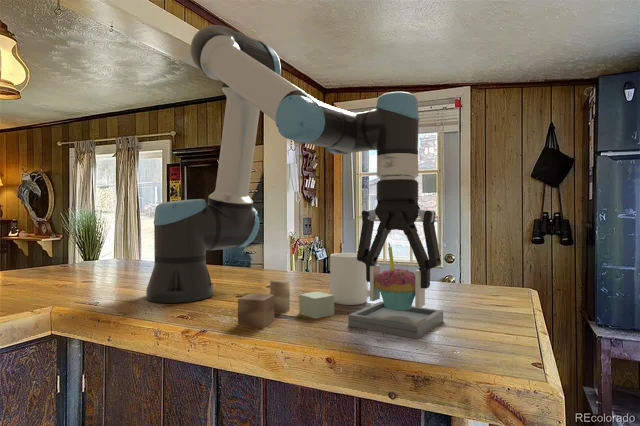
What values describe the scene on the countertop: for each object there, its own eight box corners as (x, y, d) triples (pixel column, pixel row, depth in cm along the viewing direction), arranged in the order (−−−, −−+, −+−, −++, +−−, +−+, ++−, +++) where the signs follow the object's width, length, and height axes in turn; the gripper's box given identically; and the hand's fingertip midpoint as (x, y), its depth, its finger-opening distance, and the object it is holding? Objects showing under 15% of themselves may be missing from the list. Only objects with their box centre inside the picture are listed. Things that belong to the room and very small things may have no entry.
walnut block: (237, 326, 71) (237, 298, 71) (249, 319, 76) (249, 293, 76) (263, 328, 70) (263, 300, 70) (274, 321, 75) (274, 294, 75)
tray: (348, 325, 72) (348, 314, 72) (380, 311, 82) (380, 301, 82) (417, 339, 64) (417, 326, 64) (443, 321, 75) (443, 310, 75)
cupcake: (390, 315, 68) (391, 245, 68) (365, 304, 76) (366, 241, 76) (431, 310, 72) (432, 243, 71) (403, 300, 79) (404, 240, 79)
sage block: (299, 314, 80) (299, 294, 80) (318, 310, 84) (318, 291, 84) (315, 319, 77) (315, 298, 77) (334, 315, 80) (334, 295, 80)
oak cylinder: (266, 310, 83) (266, 281, 82) (278, 307, 86) (278, 279, 86) (280, 313, 80) (281, 283, 80) (293, 309, 84) (293, 281, 83)
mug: (376, 308, 85) (377, 258, 85) (324, 303, 89) (324, 255, 89) (386, 300, 93) (386, 254, 93) (337, 296, 97) (337, 252, 97)
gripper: (338, 180, 76) (337, 299, 76) (448, 175, 64) (447, 315, 64) (357, 182, 82) (357, 292, 82) (461, 178, 70) (460, 306, 70)
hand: (396, 302), depth 73 cm, fingers closed on cupcake, 8 cm apart
